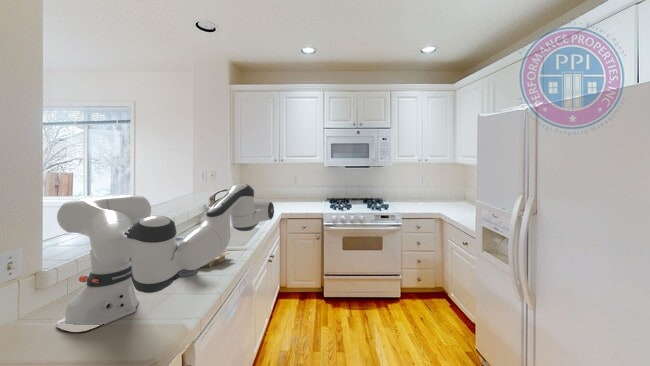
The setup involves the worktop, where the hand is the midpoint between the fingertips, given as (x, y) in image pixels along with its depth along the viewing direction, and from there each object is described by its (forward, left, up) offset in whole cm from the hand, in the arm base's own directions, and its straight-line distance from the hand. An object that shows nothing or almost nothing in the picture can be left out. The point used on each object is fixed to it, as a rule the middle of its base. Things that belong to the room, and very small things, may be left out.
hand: (214, 207), depth 138 cm
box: (-6, +13, -29) cm, 32 cm away
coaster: (-6, +13, -30) cm, 33 cm away
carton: (+9, +13, -30) cm, 34 cm away
